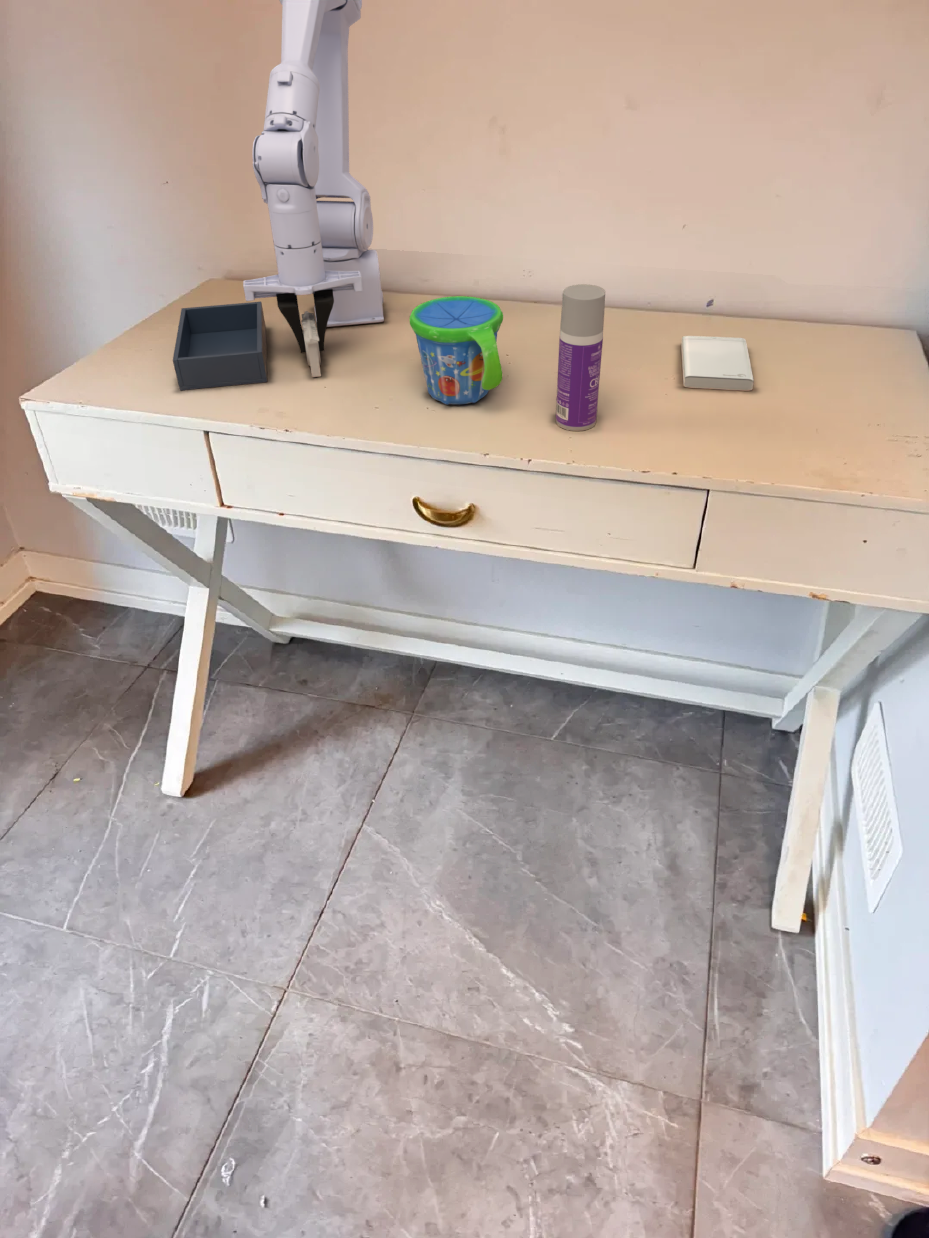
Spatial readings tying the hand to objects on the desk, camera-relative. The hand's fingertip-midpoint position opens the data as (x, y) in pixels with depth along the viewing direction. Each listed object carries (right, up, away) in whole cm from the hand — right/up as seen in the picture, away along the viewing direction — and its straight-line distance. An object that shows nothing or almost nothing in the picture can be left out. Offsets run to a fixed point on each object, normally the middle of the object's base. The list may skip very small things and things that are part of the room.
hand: (312, 349), depth 117 cm
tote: (-12, -1, +2) cm, 12 cm away
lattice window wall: (0, -1, +1) cm, 2 cm away
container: (+33, -13, -14) cm, 38 cm away
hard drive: (+52, -4, -3) cm, 52 cm away
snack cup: (+19, -8, -7) cm, 22 cm away
